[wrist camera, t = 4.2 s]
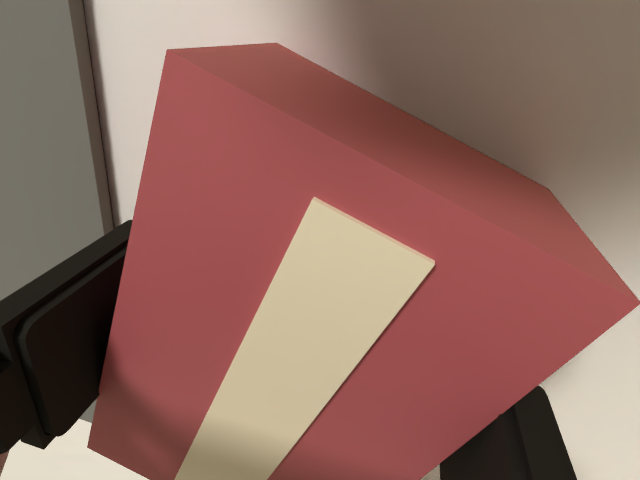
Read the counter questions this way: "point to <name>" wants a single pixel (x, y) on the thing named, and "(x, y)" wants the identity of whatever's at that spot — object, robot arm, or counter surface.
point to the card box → (328, 283)
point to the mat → (47, 142)
